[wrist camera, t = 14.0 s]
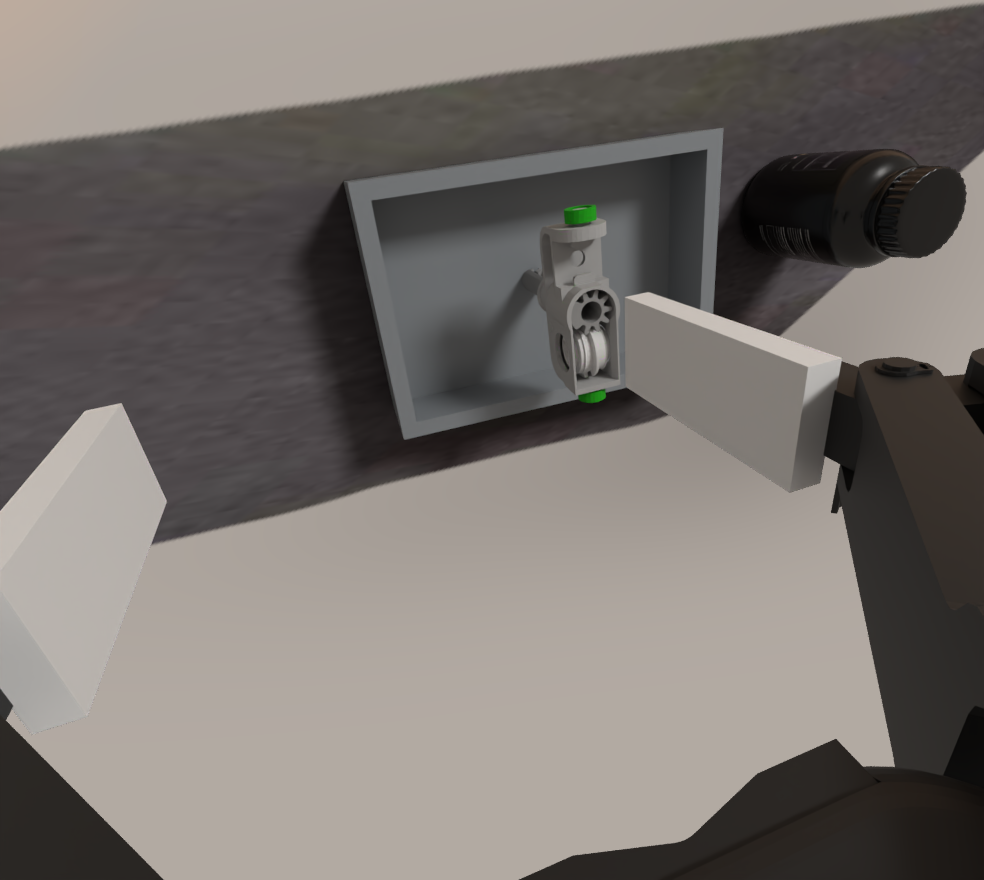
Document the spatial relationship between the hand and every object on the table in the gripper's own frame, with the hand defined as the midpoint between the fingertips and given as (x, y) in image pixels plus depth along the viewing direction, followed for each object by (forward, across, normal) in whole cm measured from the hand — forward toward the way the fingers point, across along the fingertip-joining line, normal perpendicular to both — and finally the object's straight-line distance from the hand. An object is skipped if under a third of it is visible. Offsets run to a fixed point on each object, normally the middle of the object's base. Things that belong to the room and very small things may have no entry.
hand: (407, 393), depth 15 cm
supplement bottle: (+23, -32, +1) cm, 39 cm away
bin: (+23, -12, +3) cm, 26 cm away
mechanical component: (+22, -12, +3) cm, 26 cm away
